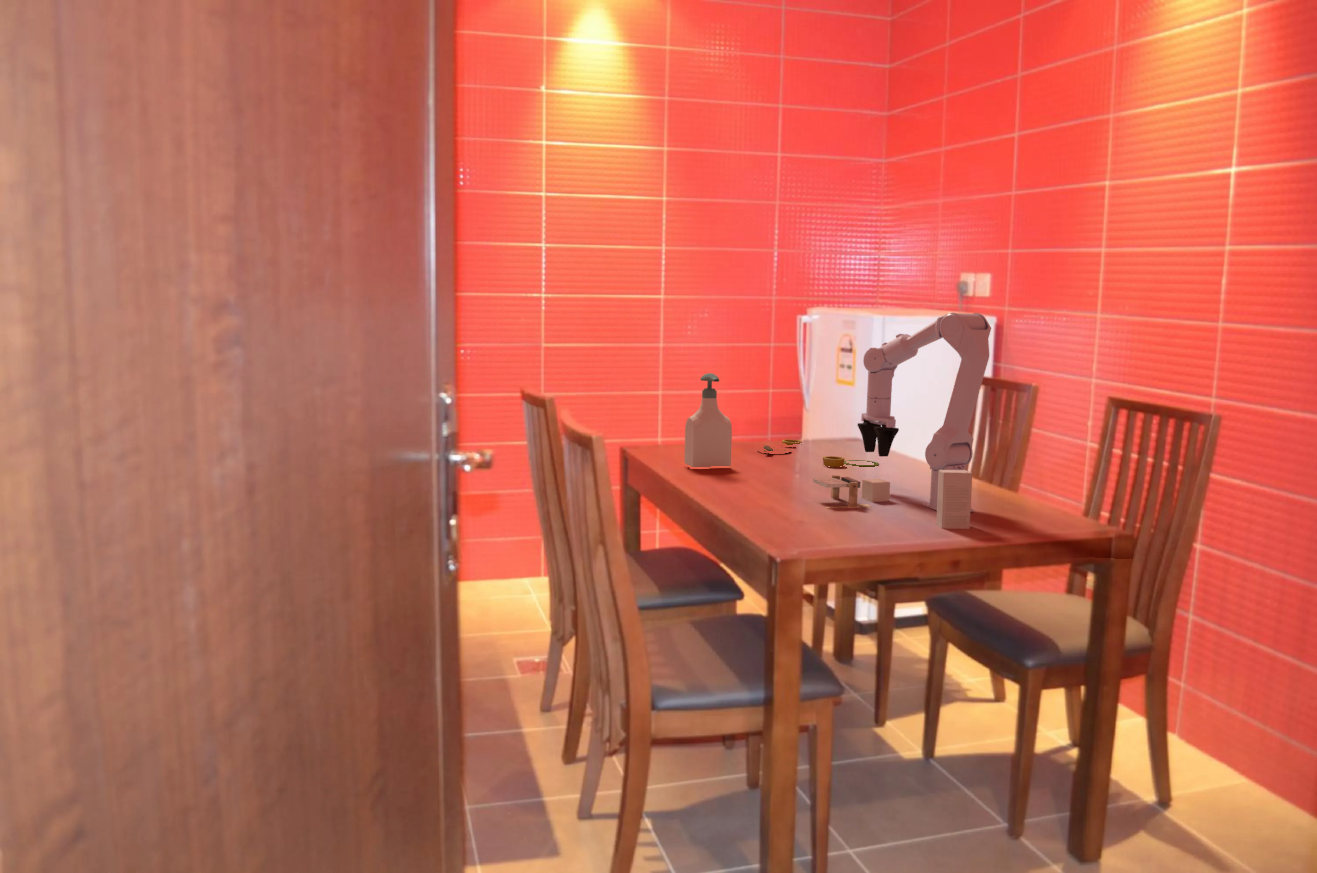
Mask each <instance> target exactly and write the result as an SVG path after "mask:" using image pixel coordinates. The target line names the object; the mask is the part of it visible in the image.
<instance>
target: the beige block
mask: <svg viewBox="0 0 1317 873" xmlns="http://www.w3.org/2000/svg"><path fill="white" fill-rule="evenodd" d="M861 482H862V483H861V499H862V500H866V501H868V502H871V503H877V502H889V501H890V497H891V496H890V492H891V491H890V490H891V481H888V480H884V479H880V478H871V479H866V478H865V479H862V481H861Z"/></svg>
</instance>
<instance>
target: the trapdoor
mask: <svg viewBox="0 0 1317 873" xmlns="http://www.w3.org/2000/svg"><path fill="white" fill-rule="evenodd" d="M841 480H842V481H841ZM844 481H845V482H844ZM846 482H847V483H846ZM850 482H857V483H858V489H860V488H861V481H860V480H857V479H854V478H852V477H849V476H840V480H839V479H836V478H832V477H830V478H829V477H827V478H826V477H825V478H824V477H823V478H812V483H813V484H816V485H820V486H822V487H824V488H827V489H828V488H830V489H832V488H836V487H840V488H849V483H850Z"/></svg>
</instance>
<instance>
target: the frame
mask: <svg viewBox="0 0 1317 873" xmlns="http://www.w3.org/2000/svg"><path fill="white" fill-rule="evenodd" d="M831 478H836V479H839V480H841V475H838V474H837V475H836V474H834V475H831ZM841 481H842V480H841ZM844 482H845V481H844ZM846 483H847V482H846ZM830 489H831V490H830V492H831V494H830V498H831V499H832V498H833V500H837V498H839V499H840V489H841V487H836V488H830ZM858 491H859V488H858V483H857V482H850V483H849V487H848V505H847V506H844V505H843V506H825V507H824V508H825V509H826V510H830V509H833V508H835V509H856V508H857V509H858V508H872V507H873V506H871V505H870V504H867V503H865V504H864V503H858Z"/></svg>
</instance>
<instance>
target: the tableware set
mask: <svg viewBox="0 0 1317 873" xmlns="http://www.w3.org/2000/svg"><path fill="white" fill-rule="evenodd" d="M781 442H782V443H785V444H787V445H793V444H800V443H803V442H802V440H799V439H789V438H788V439H782V440H781ZM795 442H796V443H795ZM798 442H799V443H798ZM782 443H781V444H782ZM771 447H772V446H769V445H763V447H762V448H764V449H766V450H765V451H773V449H772V448H771ZM846 461H865V460H863V459H862V460H860V459H857V460H856V459H853V460H852V459H850V460H846V458H845V457H842V456H835V455H826V456H823V457H822V463H823V464H822V465H823V466H824V465H825V466H830V467H840V466H843V465H844V464H846V465H852V466H859V467H875V466H878V467H879V466H880V463H879V462H877V461H872V460H871V461H870V460H866V461H867V462H872V463H874V465H856V464H849V463H846ZM825 466H824V467H825Z"/></svg>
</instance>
